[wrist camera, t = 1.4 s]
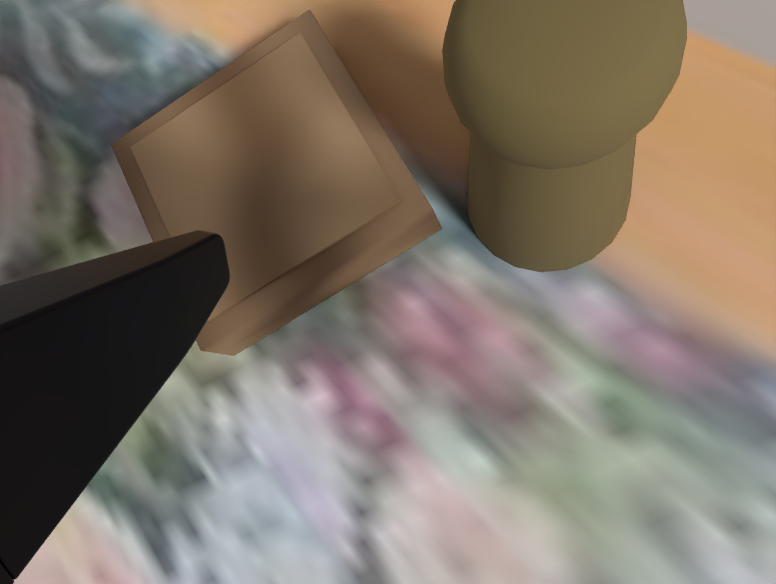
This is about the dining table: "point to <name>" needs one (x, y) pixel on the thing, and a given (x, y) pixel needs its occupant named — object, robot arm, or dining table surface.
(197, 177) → the walnut plinth
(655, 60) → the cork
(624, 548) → the dining table surface
